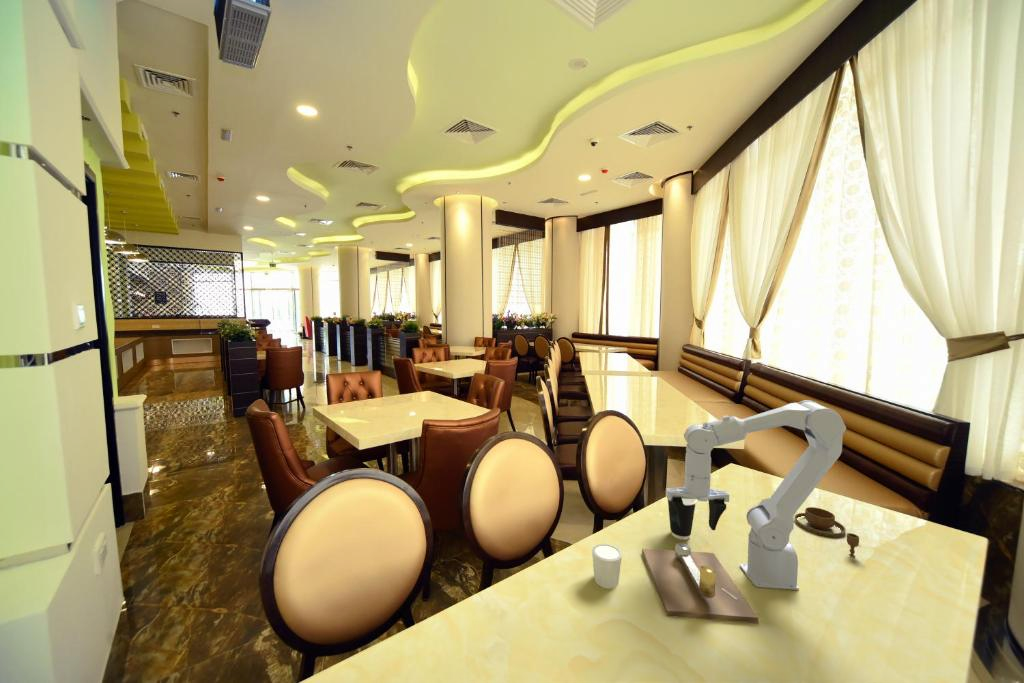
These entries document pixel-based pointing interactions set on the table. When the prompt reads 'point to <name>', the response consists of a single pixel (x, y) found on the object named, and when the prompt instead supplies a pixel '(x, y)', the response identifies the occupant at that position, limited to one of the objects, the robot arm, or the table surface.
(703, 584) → the lever
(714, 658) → the table surface
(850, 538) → the place setting
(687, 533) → the dixie cup
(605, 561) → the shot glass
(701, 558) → the bench base
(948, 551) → the table surface
